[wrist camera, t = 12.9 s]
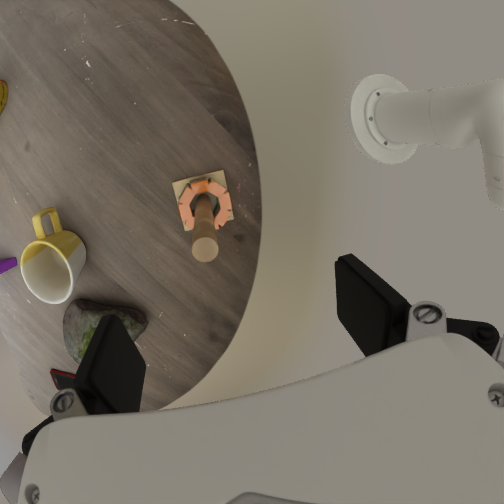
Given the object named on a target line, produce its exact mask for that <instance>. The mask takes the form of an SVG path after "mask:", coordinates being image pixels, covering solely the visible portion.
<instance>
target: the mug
mask: <svg viewBox="0 0 504 504" xmlns="http://www.w3.org/2000/svg"><path fill="white" fill-rule="evenodd" d="M46 213H49V214H50V217H51V220H52V224H53V227H54V231H55V233H54V234H51V235H48V236H47V235H46V233H45V231H44V229H43V226H42V221H41V217H42V216H43V215H45V214H46ZM32 221H33V226H34V230H35V233H36V236H37V240H36V241H33V242H31V243H30V244H29V245H28V246H27V247H26V248H25V249H24V251H23V253H22V256H21V272H22V276H23V279H24V281H25V283H26V285H27V287H28V288H29V289H30V291H31V292H32V293H33V294H34V295H35V296H36V297H38V298H39V299H40V300H42V301H44V302H47V303H50V304H58V303H62V302H64V301H65V300H67V299H68V297H69V296H70V295H71V293H72V291H73V288H74V286H75V284H76V281H77V279H78V277H79V275H80V273H81V270H82V268H83V266H84V264H85V261H86V249H85V246H84V244H83V242H82V240H81V239H80V238H79V237H78V236H77V235H76V234H74V233H73V232H70V231H63V229H62V226H61V223H60V220H59V217H58V214H57V211H56V209H55V208H53V207H51V208H46V209H43V210H41V211H39V212H38V213H37V214H35V215H34V216H33V219H32Z"/></svg>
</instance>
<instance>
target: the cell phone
mask: <svg viewBox="0 0 504 504" xmlns="http://www.w3.org/2000/svg"><path fill="white" fill-rule="evenodd" d="M50 374H51V376H52V379H53V381H54V384H55V386H56V388H57V389H58V390H60V391H61V390H63V389H66V388H72V389H74V390H75V387H76V386H75V385H74V383H73V380H74V378H75V375H72V374H68V373H64V372H61V371H57V370H52V369H51V371H50Z"/></svg>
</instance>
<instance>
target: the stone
mask: <svg viewBox="0 0 504 504" xmlns="http://www.w3.org/2000/svg"><path fill="white" fill-rule="evenodd" d="M111 314H115V315H116V316H118V317H120V318H121V320H122V322H123V324H124V326H125V328H126V329H127V331H128V333H129V335H130V337H131V339H132V340H133V342H134V341H135V340H136V339H137V338H138V337H139V335H140V334H141V333H142V332H144V330H145V329H146V327H147V325H148V321H147V320H146V317H145V316H144V315H142V314H141V313H140V312H139V311H137V310H135V309H132V308H127V307H113V306H110V307H107V306H105V305H100V304H96V303H92V302H88V301H85V300H74V301H73V302H71V304H70V305H69V307H68V308H67V310H66V312H65V315H64V319H63V334H64V341H65V345H66V348H67V351H68V353H69V354H70V356H71V357H72V358H73V359H74V360H75V361H76V362H77V363H78V364H80V363H81V361H82V358H83V356H84V354H85V351H86V349H87V347H88V345H89V342H90V340H91V338H92V336H93V334H94V332H95V329H96V327H97V325H98V323H99V321H100V319H101V317H102V316H106V315H111Z"/></svg>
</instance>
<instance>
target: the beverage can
mask: <svg viewBox="0 0 504 504" xmlns="http://www.w3.org/2000/svg"><path fill="white" fill-rule="evenodd" d="M7 95H8V87H7V84H6V82H5V81H3V80H0V114H1V112H2V111H3V109H4V106H5V104H6V100H7Z"/></svg>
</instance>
